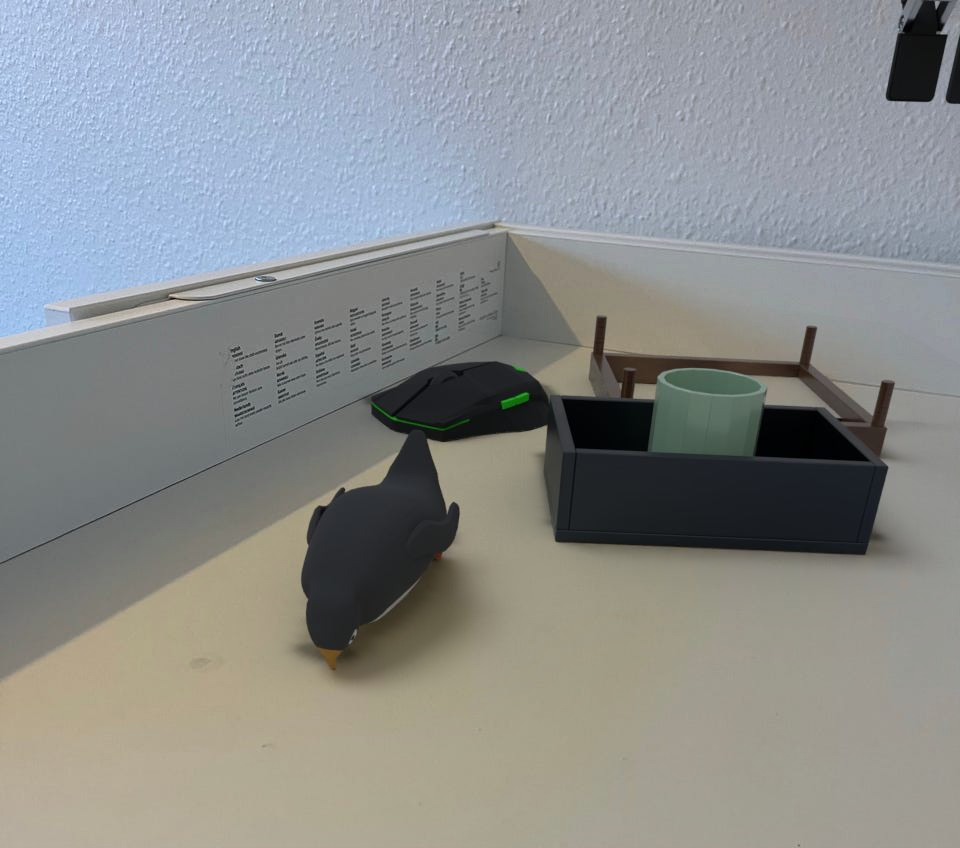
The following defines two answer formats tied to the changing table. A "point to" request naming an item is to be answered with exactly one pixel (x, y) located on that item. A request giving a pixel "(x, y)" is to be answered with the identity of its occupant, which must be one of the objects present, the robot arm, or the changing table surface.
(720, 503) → the black open box
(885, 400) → the frame
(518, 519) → the changing table surface
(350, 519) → the figurine
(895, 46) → the robot arm
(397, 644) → the changing table surface
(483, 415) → the computer mouse
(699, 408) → the cup
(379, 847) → the changing table surface
